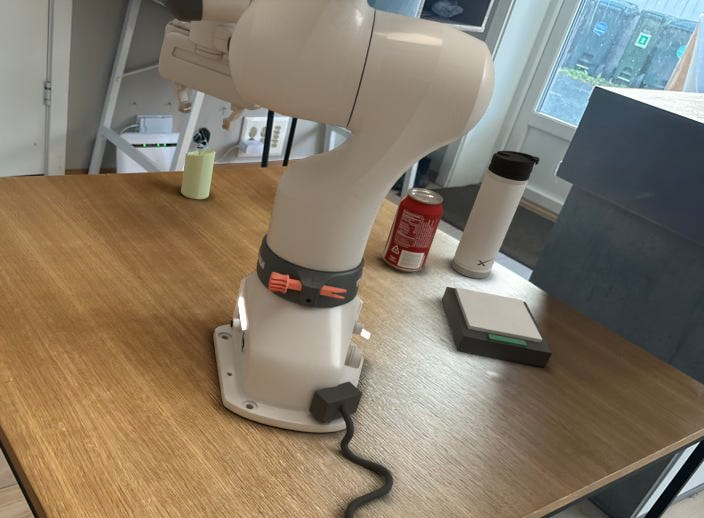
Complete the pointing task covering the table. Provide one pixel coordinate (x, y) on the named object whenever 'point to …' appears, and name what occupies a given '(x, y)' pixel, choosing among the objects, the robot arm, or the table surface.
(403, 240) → the soda can
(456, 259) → the travel mug
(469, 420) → the table surface
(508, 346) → the scale
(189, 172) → the candle
